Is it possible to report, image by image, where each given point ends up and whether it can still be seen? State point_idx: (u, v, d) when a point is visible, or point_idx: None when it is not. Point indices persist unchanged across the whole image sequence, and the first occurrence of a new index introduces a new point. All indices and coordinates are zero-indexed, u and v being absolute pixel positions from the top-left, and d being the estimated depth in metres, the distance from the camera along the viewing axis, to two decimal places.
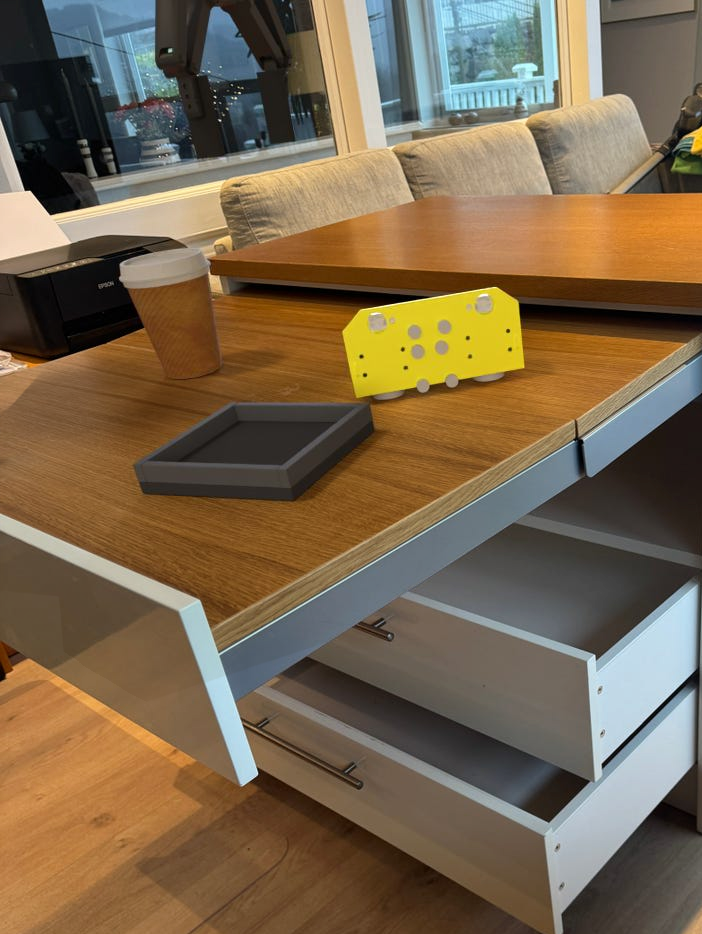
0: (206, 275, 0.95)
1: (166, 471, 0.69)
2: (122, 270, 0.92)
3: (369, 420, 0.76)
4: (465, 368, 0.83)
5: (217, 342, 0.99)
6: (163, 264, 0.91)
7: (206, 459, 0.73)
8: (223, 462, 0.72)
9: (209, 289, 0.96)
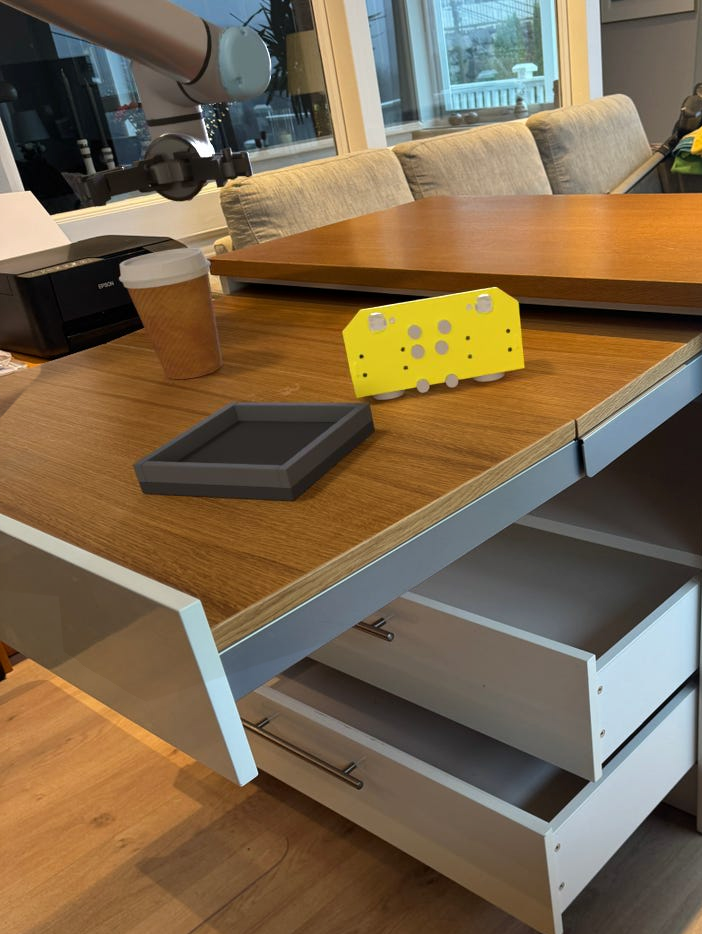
0: (206, 275, 0.95)
1: (166, 471, 0.69)
2: (122, 270, 0.92)
3: (369, 420, 0.76)
4: (465, 368, 0.83)
5: (217, 342, 0.99)
6: (163, 264, 0.91)
7: (206, 459, 0.73)
8: (223, 462, 0.72)
9: (209, 289, 0.96)
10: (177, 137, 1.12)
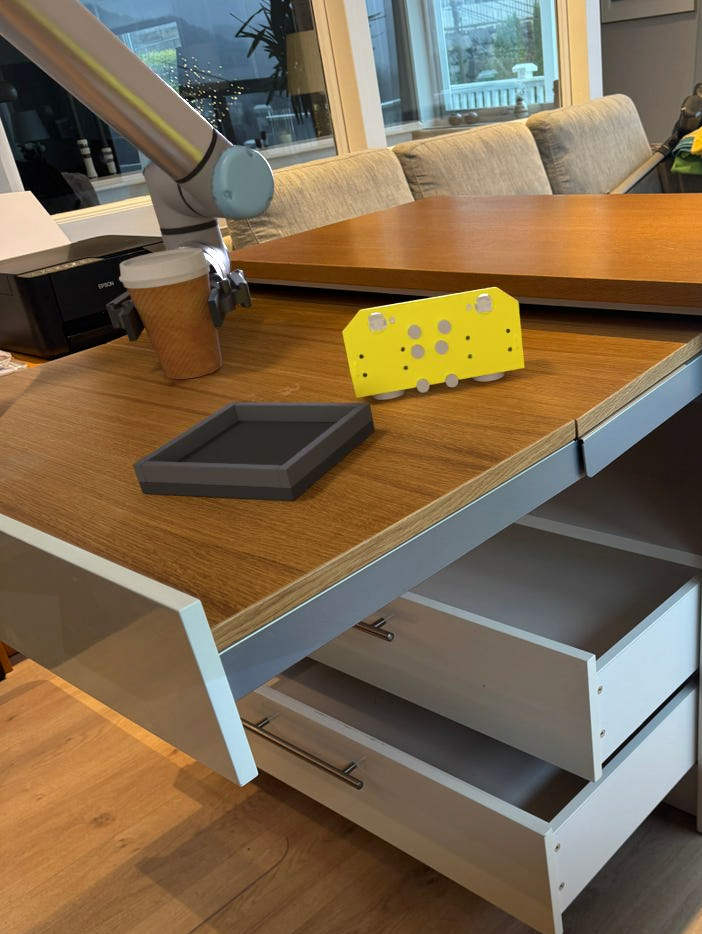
0: (206, 275, 0.95)
1: (166, 471, 0.69)
2: (122, 270, 0.92)
3: (369, 420, 0.76)
4: (465, 368, 0.83)
5: (217, 342, 0.99)
6: (163, 264, 0.91)
7: (206, 459, 0.73)
8: (223, 462, 0.72)
9: (209, 289, 0.96)
10: None
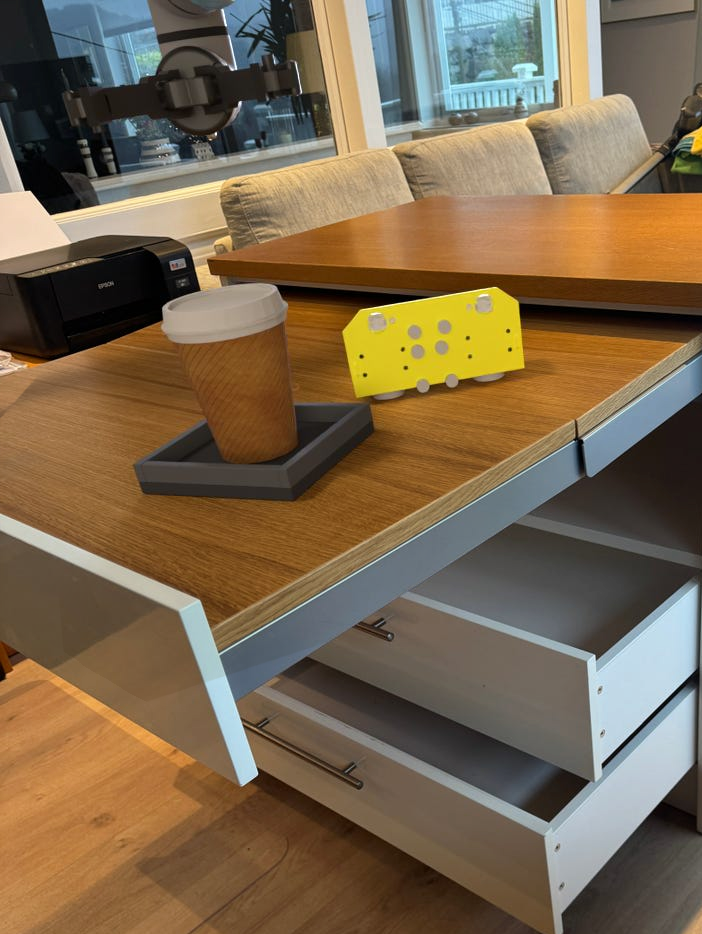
0: (283, 323, 0.68)
1: (166, 471, 0.69)
2: (166, 317, 0.65)
3: (369, 420, 0.76)
4: (465, 368, 0.83)
5: (293, 412, 0.72)
6: (226, 310, 0.63)
7: (206, 459, 0.73)
8: (223, 462, 0.72)
9: (286, 341, 0.69)
10: (199, 48, 0.85)
